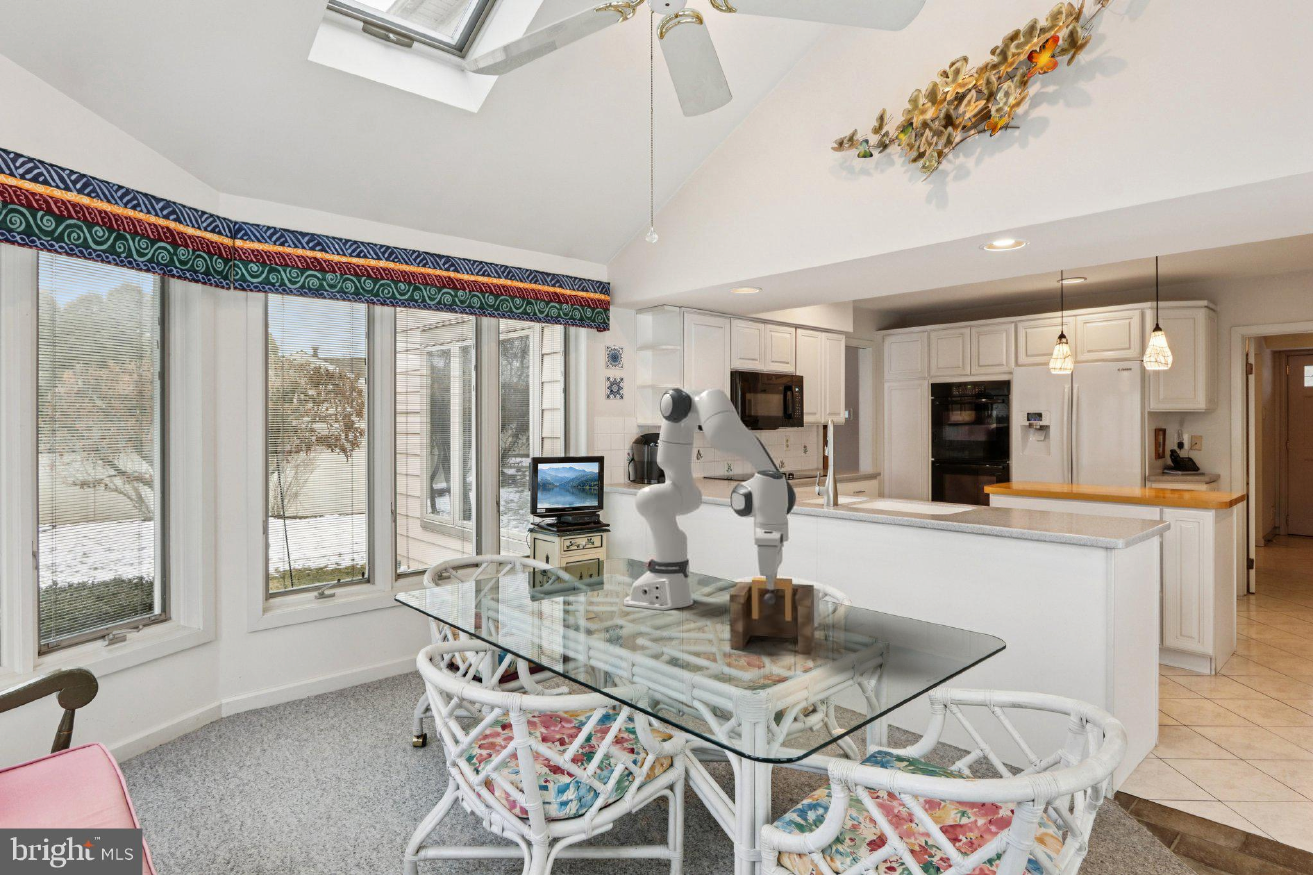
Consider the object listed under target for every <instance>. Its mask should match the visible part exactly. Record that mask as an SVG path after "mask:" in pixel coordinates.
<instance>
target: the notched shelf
mask: <svg viewBox="0 0 1313 875" xmlns="http://www.w3.org/2000/svg"><path fill="white" fill-rule="evenodd" d="M814 588H815V585H814V584H803V583H802V584H800V583H792V601H793V618H792V621H786V620H785V589H773V590H771V589H767V588H760V616H759V618H758V619H752V581H739V582H738V583H737V585H736V586H735V587H734V588H733V590H732V591H731V592H730V593H729V621H730V623H729V625H730V649H731V650H741V651H743V650H744V648H745V645H746V644H747V642H748V640H749V638H750V636H758V637H773V638H774V637H775V638H786V639H787V638H789V639H791V638H792V639H798V646H797V647H798V650H797V651H798V655H809V656H811V655H812V650H813V645H814V643H815V628H814Z"/></svg>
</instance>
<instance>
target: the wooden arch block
mask: <svg viewBox="0 0 1313 875" xmlns="http://www.w3.org/2000/svg"><path fill="white" fill-rule="evenodd" d="M751 582H752V619H758V618H759V616H760V588H767V581H766V577H764V576H761V577H757V576H753V578H752V579H751ZM792 584H793V578H785V577H784V578H782V577H781V578H780V577H777V578H774V589H785V620H786V621H792V618H793V601H792Z"/></svg>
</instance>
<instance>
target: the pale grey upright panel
mask: <svg viewBox="0 0 1313 875" xmlns="http://www.w3.org/2000/svg"><path fill="white" fill-rule="evenodd" d="M820 592H821V590H820V589H818V588H815V587H814V629H815V628H817V627H818V626H819V617H820V601H821V600H820V599H821V598H820V597H821V596H820V595H821V593H820Z"/></svg>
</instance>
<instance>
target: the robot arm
mask: <svg viewBox="0 0 1313 875" xmlns="http://www.w3.org/2000/svg"><path fill="white" fill-rule="evenodd" d="M659 410H660V414H661V415H662V418H663V419H662V422H661V426H660V431H659V438H658V445H657V446H658V447H657V456H656V462H657V463H656V464H657V465H658V467H659V468H660V469H661V470H663V473H664V477H665V482H664V483H657V484H656V483H655V484H651V485H648V486H645V487H643V488H641V489H639V491H637V493H636V496H635V499H634V500H635V503H634V504H635V507H636V510H637V513H638V514H639V515H640V516H641V517H643V519H644V520H645V521H646V522H647V524H648V527H649V529H650V532H651V537H652V553H653V554H652V555H653V557H651V558H650V559H649V561H648V562H647V563H646V567H647V571H646V572H645V573H643V575H641V576H640V577H639V578H638V579H636V580H635V581H634V582H633V584H632V585H631V589H630V594H629V596H626V598H624V599H623V605H624V606H626V607H634V608H643V609H650V610H651V609H652V610H661V611H669V610H672V609H677V608H679V609H680V608H685V607H688V606H691V605H693V604H694V600H693V597H692V593H691V588H690V580H689V577H690V563H689V562H690V560H689V558H688V537H687V534H686V532H684V531H683V530H682V529H681V528H680V527H679V525H678V523H677V517H678V516H685V515H689V514H692V513H694V512H696V511H697V510H698V509H699V508H701V505H702V502H703V494H702V491H701V489H700V487H699V486H698V485H697V484H696V483H695V480H694V476H693V472H692V470H693V469H692V461H693V460H692V458H693V452H694V451H693V449H694V440H695V430H696V428H697V427H698V426H701V429H702V431H703V433H704V436H705V439H706V441H707V442H708V443H709V445H710V446H711V447H712V449H715V450H717V451H718V452H720V453H723V454H727V455H728V454H729V455H732V456H735V457H738V458H740V459H743V460H745V461H746V462H748V463H749V464H750V465H751V466H752V467H753V469H754V471H755V474H754V476H753V477H751V478H750V479H748V480H745V481H743V482H740V483H737V484H736V485H735V486H734V487H733V489H732V491H731V494H730V499H729V500H730V506H731V509H732V510H733V513H735V514H736V515H737V516H738V517H740V518H754V519H753V538H754V539H753V541H754V545H755V546H756V553H757V555H756V556H757V565H758V571H759V575H760V576H761V577H765V578H766V581H767V589H771V590H773V589H774V578H778V577H777V576H778V569H779V568H780V566H781V564H782V562H783V547H784V546H785V545H784V544H785V542H788V541H789V518H788V515H789V514H790V513H791V511H792V510H793V509H794V507H795V505H796V502H797V496H796V492H795V489H794V487H793V485H792V484H791V483H790V482H789V481H788V480H787V479H786V477H785V474H783V473H782V472H781V471H780V469H779V467H778V465H777V464H776V463H775V461H774V460H773V458H772V456H771V455H770V453H769V452H768V450H767V448H766V447H765V445H764V443H763V442H762V441H761V440H760V438H759V437H757V436H756V435H755V434H754V433H752V432H751V431H750V429H748V428H747V427H746V425H745V424H744V423H743V421H742V420H741V418H740V417H739V414H738V412H737V409H736V408H735V406H734V404H733V403H732V400H731V399H730V398H729V397H728V395H727V393H726V392H724V391H723V390H721V389H720V388H708V389H705V388H698V387H697V388H696V387H694V388H679V387H677V388H676V387H675V388H670V389H668V390H666V391H665V392H664V393H663V394H662V397H661V398H660V401H659Z"/></svg>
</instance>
